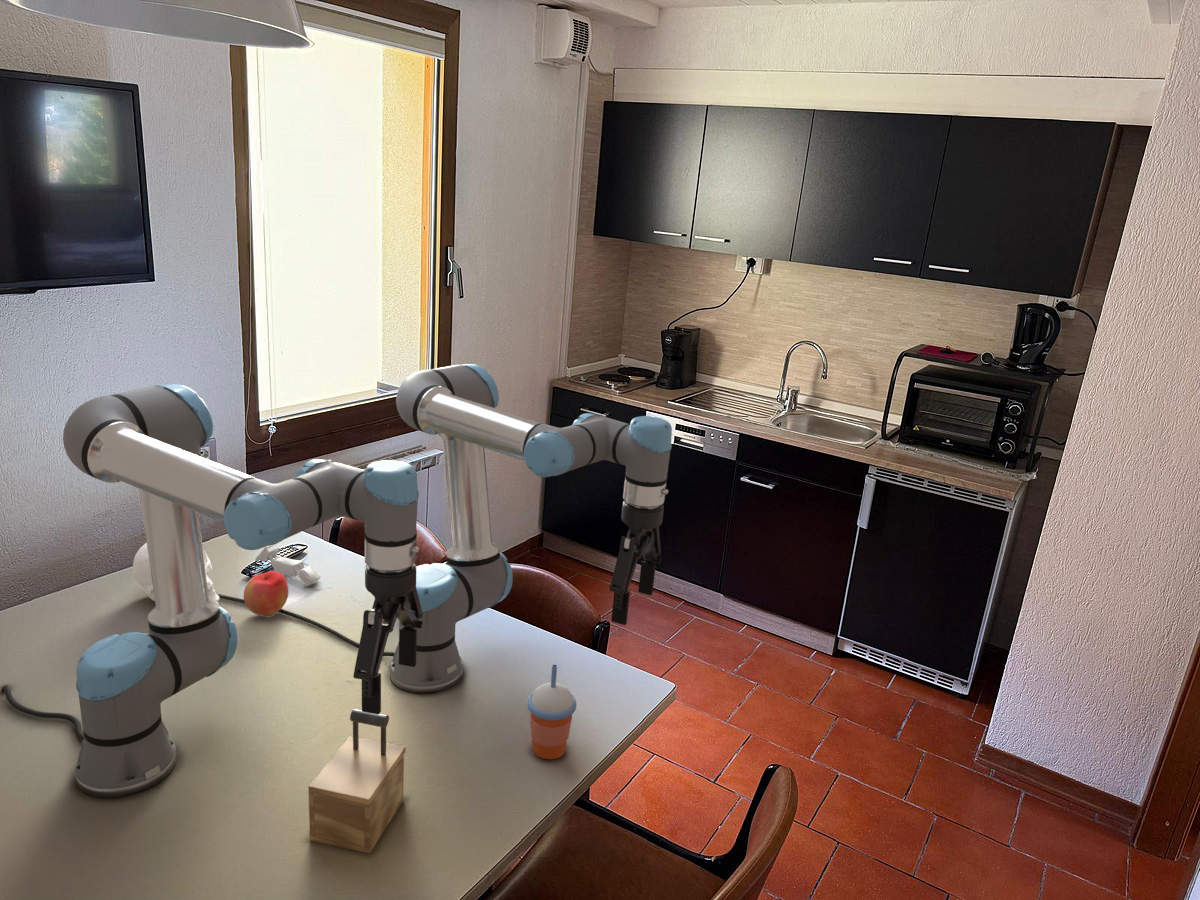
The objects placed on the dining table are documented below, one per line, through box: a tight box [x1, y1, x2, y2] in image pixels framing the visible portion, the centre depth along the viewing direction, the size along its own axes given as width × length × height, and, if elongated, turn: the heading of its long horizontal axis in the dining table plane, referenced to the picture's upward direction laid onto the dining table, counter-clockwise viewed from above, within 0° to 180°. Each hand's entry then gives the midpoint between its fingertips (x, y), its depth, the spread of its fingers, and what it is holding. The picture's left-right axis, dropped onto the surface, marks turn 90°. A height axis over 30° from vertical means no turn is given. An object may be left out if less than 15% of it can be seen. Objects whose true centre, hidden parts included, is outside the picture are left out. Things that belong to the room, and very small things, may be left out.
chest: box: [308, 754, 405, 855], centre depth 139 cm, size 13×10×9 cm
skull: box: [132, 542, 220, 603], centre depth 203 cm, size 13×22×16 cm, turn 73°
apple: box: [243, 570, 289, 618], centre depth 199 cm, size 10×10×10 cm
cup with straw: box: [526, 664, 577, 760], centre depth 158 cm, size 9×9×18 cm
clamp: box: [254, 544, 322, 587], centre depth 219 cm, size 20×4×7 cm, turn 62°
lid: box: [308, 708, 407, 805], centre depth 137 cm, size 14×10×8 cm
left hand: (390, 687), depth 134 cm, fingers open, 13 cm apart
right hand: (632, 607), depth 161 cm, fingers open, 13 cm apart
